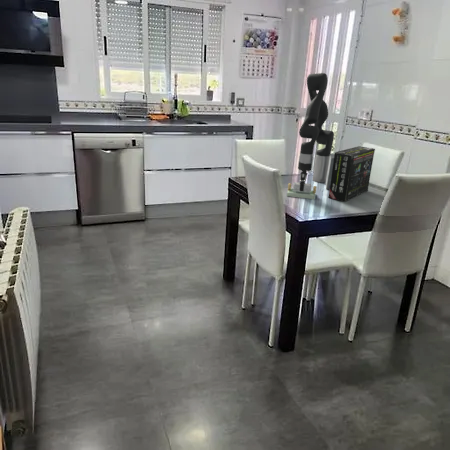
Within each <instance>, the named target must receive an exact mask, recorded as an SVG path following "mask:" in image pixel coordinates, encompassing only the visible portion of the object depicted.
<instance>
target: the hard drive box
mask: <svg viewBox="0 0 450 450" xmlns="http://www.w3.org/2000/svg"><path fill="white" fill-rule="evenodd" d="M334 154H335V153H331V154H330V158H329V164H328V171H327V177H326V182H325V190H330V183H331V176H332V169H333V162H334Z"/></svg>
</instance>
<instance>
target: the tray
mask: <svg viewBox="0 0 450 450" xmlns="http://www.w3.org/2000/svg"><path fill="white" fill-rule="evenodd" d="M316 194H317V186H316V185H314V186H313V188H312V190H311V193H310V194H301V193H293V187H292V183H290V182H289V183H288V184H287V192H286V197H293V198H298V199H299V198H302V199H308V200H316Z"/></svg>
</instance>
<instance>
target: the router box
mask: <svg viewBox="0 0 450 450" xmlns="http://www.w3.org/2000/svg"><path fill="white" fill-rule="evenodd" d="M375 151H376V148H372V147H366V146H359V145H358V146H355V147H351V148H347V149H344V150H338V151H335V152H334V153H333V154H334V162H333V169H332V176H331V183H330V189H328V198H330V199H331V200H332V199H333V200H336V201H342V202H344V203H345V202H348V201H350V200H351V199H354V198H356V197H358V196H360V195H361V194H364V193H366V192H368V191H369V185H370V179H371V173H372V167H373V162H374V161H373V160H374V157H375V156H374V155H375Z"/></svg>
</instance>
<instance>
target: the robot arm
mask: <svg viewBox="0 0 450 450" xmlns="http://www.w3.org/2000/svg"><path fill="white" fill-rule="evenodd" d="M328 81H329V80H328V75H327V73H324V72H319V73H318V72H317V73H310V74H308V75H307V77H306V86H307V91H308V95H309V98H310V103H309V104H308V106H307V108H306V110H305V111H306V112H305V116H304V117H305V118H304V121H303V123H302V124H301V126H300V128H299V132H298V133H299V136H300V138H302V139H310V141H306V142H302V143H301V145H300V151H299V157H298V164H297V165H298V166H297V169H298V170H299V171H300V174H299V183H300V191H304V184H305V183H306V182H307V179H308V178H307V177H308V172H310V171H312V166H313V159H314V156H313V155H314V148H315V144H318V145H323V146H325V147H323V148H320V149H317V150H316V151H315V152H316V153H315V159H314V166H313V174H312V181H313V182H317V183H326V177H327V171H328V164H329V158H330V154H332V150H333V144H334V138H335V133H334V131H332V130H327V129H323V125H324V124H325V123H326V121H327V120H328V117H329V108H328V104H327V103H326V101H324V97H325V95H326V90H327V87H328Z"/></svg>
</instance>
